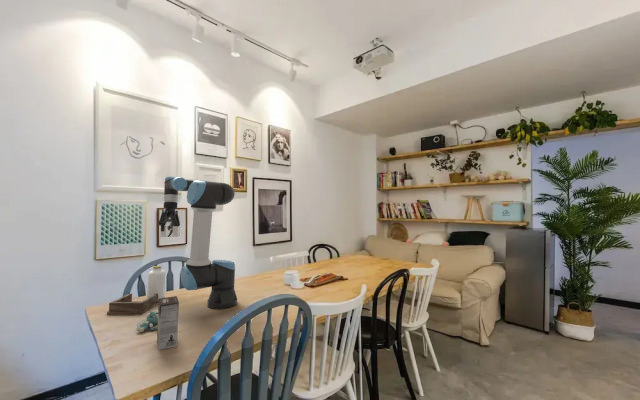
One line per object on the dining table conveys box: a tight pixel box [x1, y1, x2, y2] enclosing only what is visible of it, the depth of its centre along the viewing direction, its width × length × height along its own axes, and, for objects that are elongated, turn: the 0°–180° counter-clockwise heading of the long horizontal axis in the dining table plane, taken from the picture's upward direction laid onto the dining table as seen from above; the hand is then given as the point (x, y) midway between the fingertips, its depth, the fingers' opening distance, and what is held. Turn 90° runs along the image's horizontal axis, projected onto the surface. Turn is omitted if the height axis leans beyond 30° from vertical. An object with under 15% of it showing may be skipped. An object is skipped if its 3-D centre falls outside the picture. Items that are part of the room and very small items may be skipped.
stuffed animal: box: [135, 310, 158, 333], centre depth 120 cm, size 11×7×12 cm
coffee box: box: [156, 295, 180, 351], centre depth 106 cm, size 9×6×16 cm
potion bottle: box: [146, 265, 166, 301], centre depth 158 cm, size 8×8×18 cm
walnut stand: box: [106, 293, 159, 315], centre depth 142 cm, size 16×16×5 cm
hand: (169, 236), depth 171 cm, fingers open, 13 cm apart
